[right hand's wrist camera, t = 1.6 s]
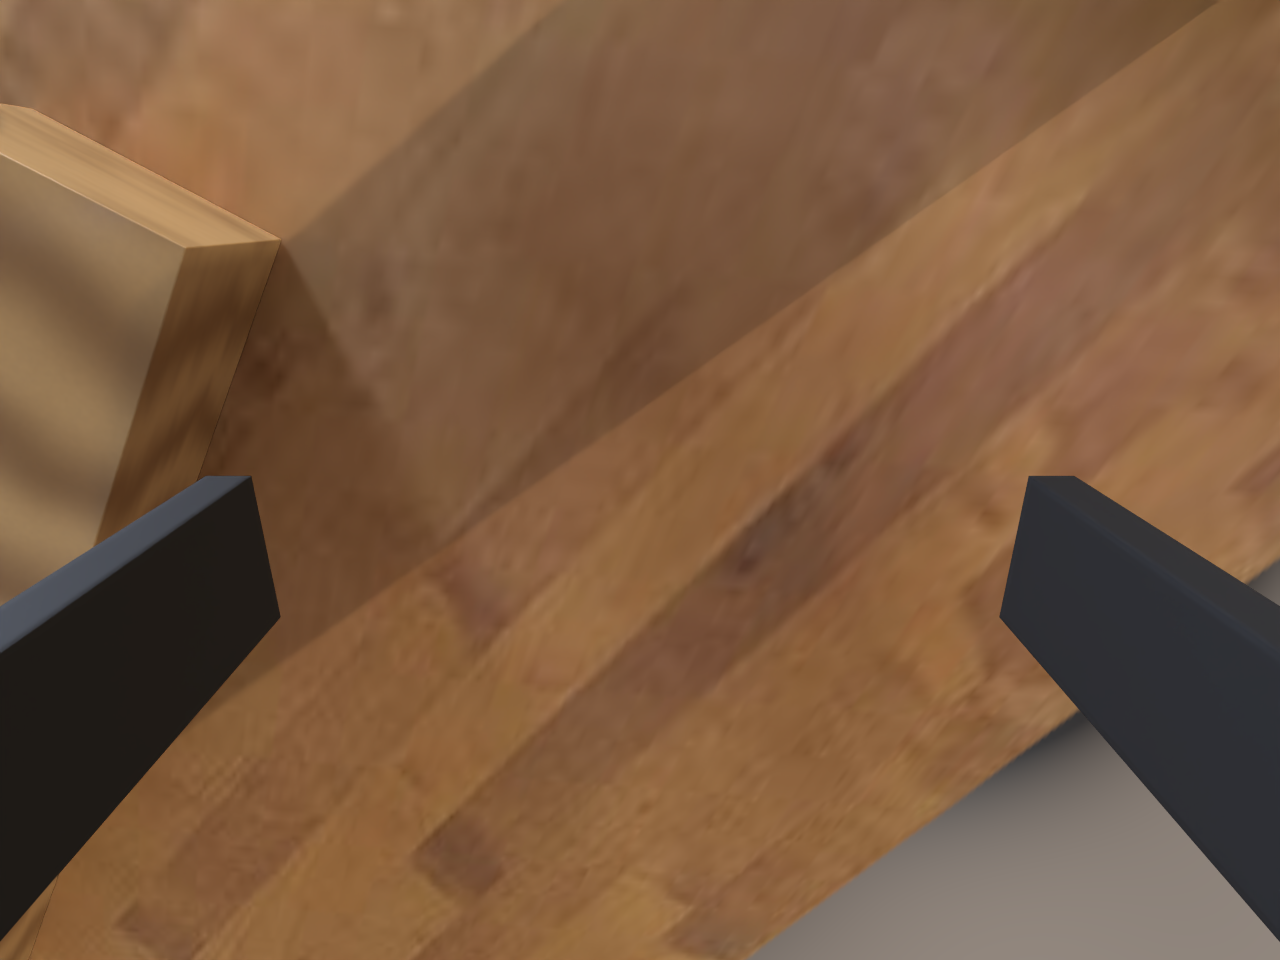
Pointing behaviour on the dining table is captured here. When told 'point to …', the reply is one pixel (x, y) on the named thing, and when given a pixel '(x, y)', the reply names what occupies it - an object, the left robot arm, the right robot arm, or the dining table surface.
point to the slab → (105, 350)
